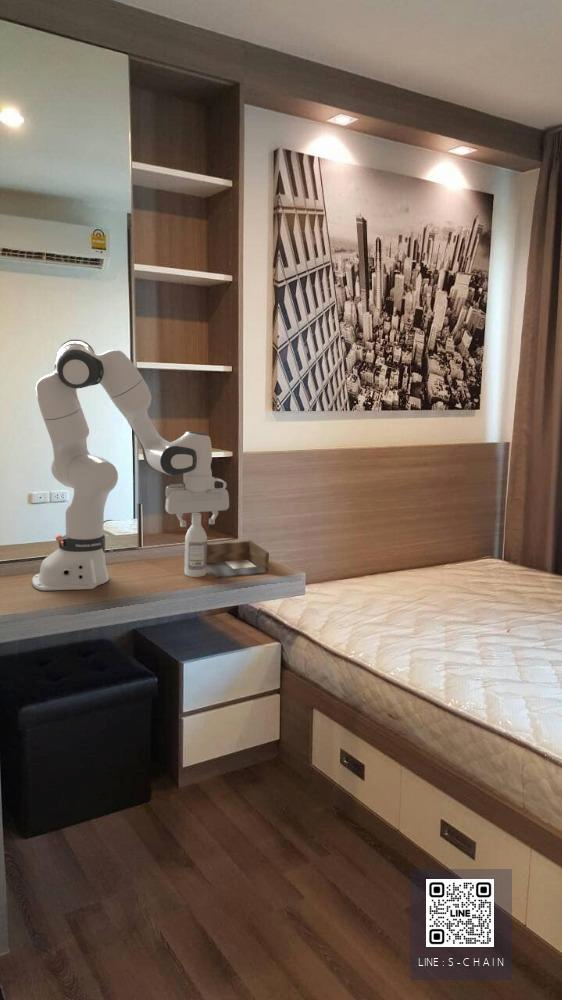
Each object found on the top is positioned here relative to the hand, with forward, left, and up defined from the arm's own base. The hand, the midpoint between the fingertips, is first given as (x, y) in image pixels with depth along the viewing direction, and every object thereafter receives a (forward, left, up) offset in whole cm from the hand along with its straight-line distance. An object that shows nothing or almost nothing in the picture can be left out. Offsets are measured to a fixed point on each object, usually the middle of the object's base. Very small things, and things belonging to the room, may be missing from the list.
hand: (197, 525), depth 228 cm
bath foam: (0, 0, -16) cm, 16 cm away
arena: (+14, +2, -16) cm, 21 cm away
